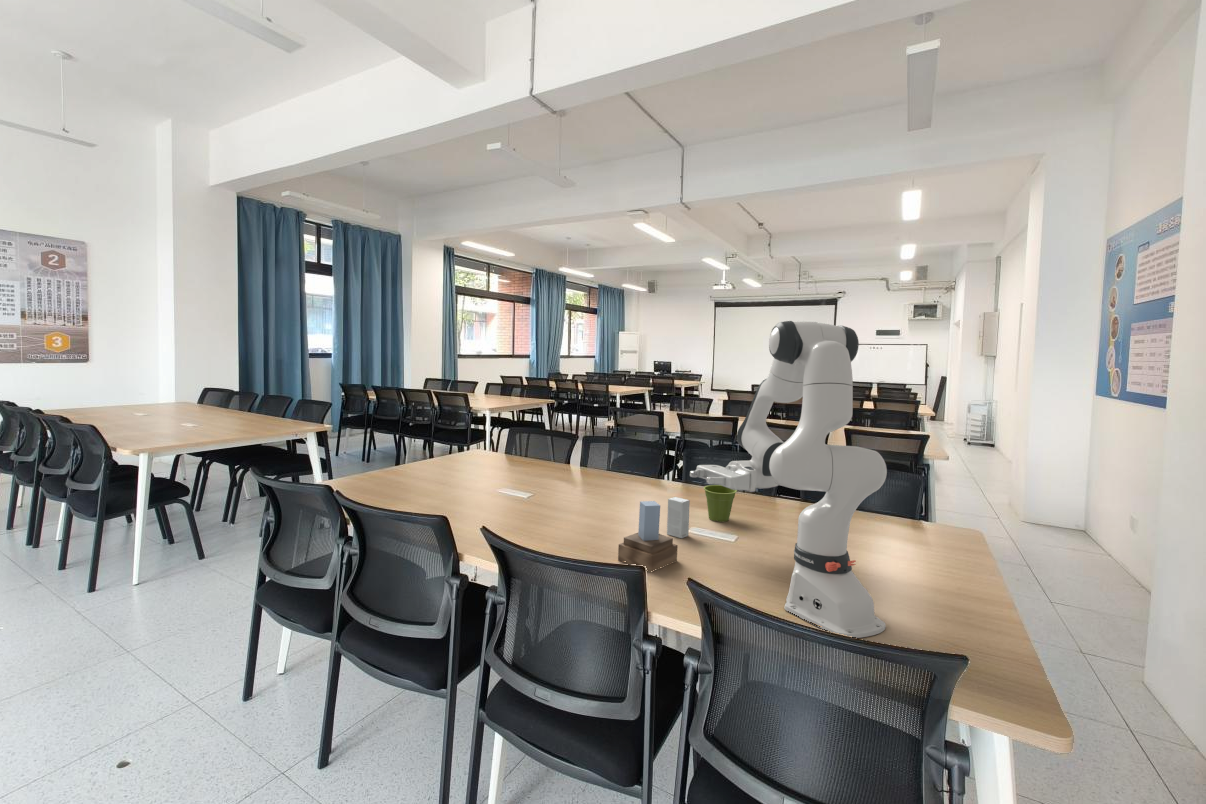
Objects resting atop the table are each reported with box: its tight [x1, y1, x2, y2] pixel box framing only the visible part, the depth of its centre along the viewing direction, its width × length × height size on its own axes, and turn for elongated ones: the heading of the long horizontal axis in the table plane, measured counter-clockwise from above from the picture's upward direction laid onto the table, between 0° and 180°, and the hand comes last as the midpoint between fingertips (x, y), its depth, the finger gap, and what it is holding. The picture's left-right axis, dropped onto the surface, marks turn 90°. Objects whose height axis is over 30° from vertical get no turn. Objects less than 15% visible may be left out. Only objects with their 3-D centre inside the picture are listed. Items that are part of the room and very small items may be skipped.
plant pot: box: [703, 484, 738, 523], centre depth 197 cm, size 12×12×11 cm
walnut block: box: [617, 532, 678, 573], centre depth 156 cm, size 12×12×7 cm
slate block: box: [637, 500, 661, 541], centre depth 156 cm, size 4×4×10 cm
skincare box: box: [666, 496, 691, 539], centre depth 179 cm, size 6×4×12 cm
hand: (699, 477), depth 162 cm, fingers open, 8 cm apart
